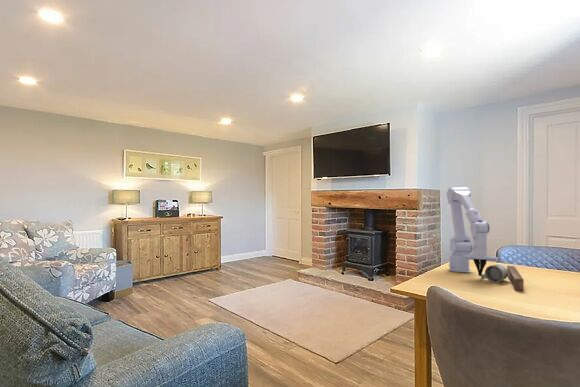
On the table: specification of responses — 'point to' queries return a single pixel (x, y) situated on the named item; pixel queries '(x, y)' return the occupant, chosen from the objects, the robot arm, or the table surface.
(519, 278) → the walnut board
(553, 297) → the table surface
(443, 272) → the table surface
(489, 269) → the ceramic mug
